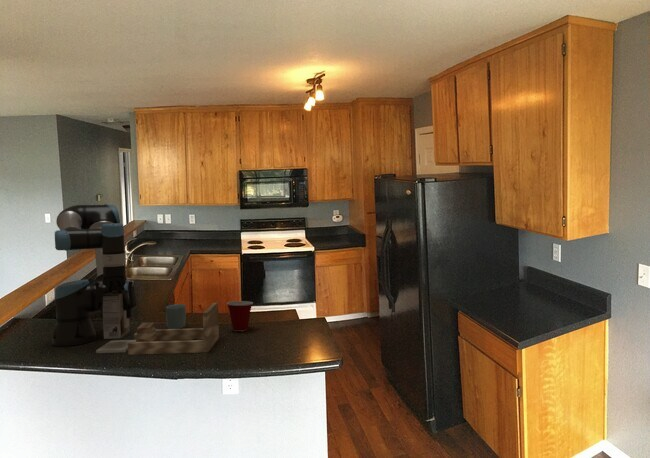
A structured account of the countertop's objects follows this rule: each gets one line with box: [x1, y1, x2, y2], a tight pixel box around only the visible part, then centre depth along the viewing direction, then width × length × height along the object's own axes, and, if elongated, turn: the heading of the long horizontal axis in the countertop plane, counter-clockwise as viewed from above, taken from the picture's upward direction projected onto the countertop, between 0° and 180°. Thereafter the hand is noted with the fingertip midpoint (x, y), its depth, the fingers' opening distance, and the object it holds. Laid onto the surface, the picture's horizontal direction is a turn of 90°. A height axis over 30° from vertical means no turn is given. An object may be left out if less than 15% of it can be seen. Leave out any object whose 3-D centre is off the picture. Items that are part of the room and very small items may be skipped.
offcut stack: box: [133, 321, 158, 342], centre depth 166 cm, size 5×10×8 cm, turn 2°
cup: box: [165, 303, 187, 329], centre depth 190 cm, size 8×8×10 cm
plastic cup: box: [226, 300, 254, 331], centre depth 186 cm, size 11×11×12 cm
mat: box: [95, 339, 136, 354], centre depth 166 cm, size 10×12×1 cm
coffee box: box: [102, 290, 131, 340], centre depth 166 cm, size 9×6×16 cm
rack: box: [127, 302, 220, 356], centre depth 167 cm, size 28×18×14 cm, turn 92°
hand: (116, 327), depth 166 cm, fingers closed on coffee box, 7 cm apart
